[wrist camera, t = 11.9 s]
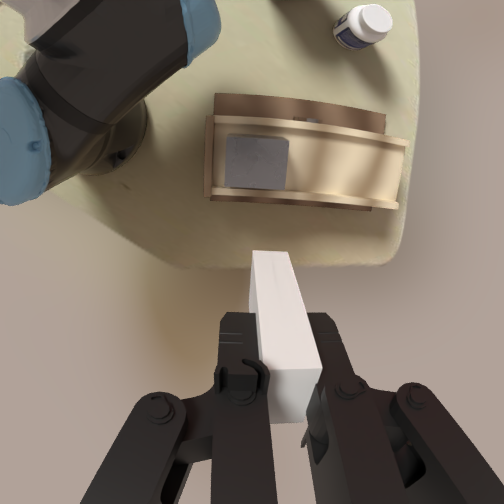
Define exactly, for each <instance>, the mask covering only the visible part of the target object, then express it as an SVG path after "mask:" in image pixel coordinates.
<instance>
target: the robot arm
mask: <svg viewBox="0 0 504 504" xmlns="http://www.w3.org/2000/svg"><path fill="white" fill-rule="evenodd" d="M0 2H2V3H3V4H5V5H7V6H8V7H10V8H11V9H13V10H15V11H16V12H18V13H19V14H21V15H22V16H23V19H24V40H25V42H26V43H27V44H29V45H30V46H32V47H34V48H35V49H36V51H35V52H34V53H33V54H32V55H31V57H30V58H29V59H28V60H27V62H26V63H25V64H24V65H23V67H22V68H21V69H20V71H19V72H18V73H17V75H16V76H15V77H3V78H1V79H0V204H5V205H8V206H14V205H19V204H22V203H24V202H26V201H28V200H33V199H36V198H38V197H39V196H40V195H41V194H42V193H43V192H45V191H47V190H49V189H51V188H52V187H54V186H56V185H58V184H60V183H62V182H63V181H65V180H67V179H69V178H71V177H73V176H75V175H77V174H85V175H101V174H105V173H108V172H111V171H113V170H115V169H116V168H118V167H120V166H122V165H123V164H125V163H126V162H127V161H128V160H129V159H130V158H131V157H132V156H133V155H134V154H135V152H136V151H137V149H138V148H139V146H140V144H141V142H142V140H143V137H144V134H145V129H146V122H147V114H146V107H145V103H144V100H143V99H144V98H145V97H146V96H147V95H148V94H150V93H151V92H152V91H153V90H154V89H156V88H157V87H158V86H159V85H160V84H162V83H163V82H164V81H165V80H167V79H168V78H169V77H171V76H172V75H173V74H174V73H176V72H177V71H178V70H180V69H181V68H187V67H188V66H189V65H190V64H191V62H192V60H193V59H195V58H196V57H197V56H199V55H200V54H201V53H203V52H204V51H205V50H207V49H208V48H209V47H211V46H212V45H213V44H214V43H215V42H216V41H217V39H218V37H219V34H220V32H221V19H220V14H219V11H218V8H217V5H216V3H215V0H0ZM305 415H306V416H307V421H308V428H307V430H306V433H305V435H304V437H303V439H302V441H301V448H302V447H305V445H306V443H307V449H308V455H309V461H310V467H311V472H312V479H313V485H314V491H315V497H316V504H504V485H503V484H502V482H501V481H500V480H499V478H498V477H497V475H496V474H495V473H494V471H493V470H492V468H491V467H490V466H489V464H488V463H487V462H486V460H485V459H484V458H483V456H482V455H481V454H480V452H479V451H478V450H477V448H476V447H475V446H474V444H473V443H472V442H471V440H470V439H469V438H468V437H467V435H466V434H465V433H464V431H463V430H462V429H461V428H460V426H459V425H458V424H457V423H456V421H455V420H454V419H453V417H452V416H451V415H450V414H449V412H448V411H447V410H446V409H445V407H444V406H443V405H442V404H441V402H440V401H439V400H438V399H437V398H436V396H435V395H434V394H433V393H432V391H431V390H429V389H428V388H427V387H426V386H424V385H421V384H420V383H413V382H411V383H406V384H404V385H402V386H401V387H400V388H399V389H398V391H397V392H390V391H382V390H377V389H373V388H370V387H369V386H368V384H367V383H366V381H365V380H363V379H362V378H361V377H360V376H357V375H355V373H354V371H353V368H352V366H351V363H350V360H349V358H348V355H347V352H346V350H345V347H344V344H343V343H342V339H341V337H340V334H339V333H338V329H337V327H336V324H335V322H334V321H333V320H332V319H331V318H330V317H329V316H328V315H327V314H326V313H306V310H305V306H304V303H303V300H302V296H301V294H300V290H299V287H298V283H297V281H296V277H295V274H294V271H293V268H292V264H291V261H290V258H289V255H288V252H280V251H257V250H253V253H252V266H251V280H250V293H249V313H239V312H227V313H226V314H225V315H224V317H223V318H222V320H221V321H220V332H219V348H218V363H217V366H216V369H215V372H214V385H213V387H212V388H211V389H210V390H209V391H207V392H206V393H204V394H202V395H200V396H196V397H193V398H187V399H182V400H180V399H179V398H178V397H176V396H174V395H172V394H170V393H165V392H154V393H149V394H147V395H145V396H143V397H142V398H141V399H140V400H139V401H138V402H137V403H136V405H135V406H134V408H133V410H132V411H131V413H130V415H129V417H128V418H127V420H126V422H125V423H124V425H123V427H122V429H121V430H120V432H119V434H118V436H117V438H116V439H115V441H114V443H113V445H112V446H111V448H110V450H109V452H108V453H107V455H106V457H105V459H104V461H103V462H102V464H101V466H100V468H99V469H98V471H97V473H96V475H95V477H94V479H93V480H92V482H91V484H90V486H89V488H88V489H87V491H86V493H85V495H84V497H83V499H82V500H81V502H80V504H178V502H179V499H180V496H181V494H182V491H183V489H184V486H185V483H186V481H187V478H188V476H189V473H190V470H191V468H192V465H193V463H194V462H199V461H203V460H208V459H212V470H211V471H212V472H211V504H278V501H277V491H276V481H275V471H274V460H273V450H272V440H271V431H270V424H276V423H277V424H278V423H298V422H303V420H304V418H305Z"/></svg>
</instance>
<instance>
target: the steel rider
mask: <svg viewBox="0 0 504 504" xmlns="http://www.w3.org/2000/svg"><path fill="white" fill-rule="evenodd" d="M288 152H289V140H287V139H286V138H284V137H280V136H268V135H254V134H235V133H229V134H228V135H227V139H226V159H225V181H224V187H241V188H259V189H275V190H285V183H286V173H287V162H288Z"/></svg>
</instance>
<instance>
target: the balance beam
mask: <svg viewBox="0 0 504 504" xmlns="http://www.w3.org/2000/svg"><path fill="white" fill-rule="evenodd" d="M318 120H319V119H312V118H307V122H302V121H294V120H284V119H273V118H260V117H244V116H219V115H208V116H206V131H205V158H204V197H211V195H232V196H252V197H269V198H284V199H297V200H310V201H322V202H333V203H344V204H354V205H363V206H372V207H381V208H389V209H398V207H399V203H398V202H396V197H397V192H398V187H399V182H400V177H401V171H402V165H403V159H404V153H405V146H406V147H409V146H410V141H408V140H405V139H401V138H396V137H392V136H387V135H383V134H378V133H373V132H368V131H362V130H357V129H351V128H345V127H339V126H332V125H326V124H318ZM229 133H235V134H254V135H268V136H280V137H284V138H286V139H287V140H289V152H288V162H287V173H286V183H285V190H275V189H259V188H241V187H224V181H225V159H226V139H227V135H228V134H229Z"/></svg>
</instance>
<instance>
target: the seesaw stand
mask: <svg viewBox="0 0 504 504" xmlns="http://www.w3.org/2000/svg"><path fill="white" fill-rule="evenodd" d="M213 115H219V116H244V117H260V118H273V119H284V120H294V121H302V122H307V118H312V119H319V120H318V124H326V125H332V126H339V127H345V128H351V129H357V130H362V131H368V132H373V133H378V134H383V135H384V127H385V118H386V115H385V114H381V113H376V112H372V111H367V110H363V109H358V108H352V107H347V106H342V105H336V104H330V103H323V102H317V101H310V100H302V99H294V98H284V97H274V96H262V95H248V94H225V93H215V97H214V114H213ZM210 201H234V202H255V203H273V204H289V205H303V206H317V207H329V208H341V209H352V210H362V211H371V208H372V206H363V205H354V204H344V203H333V202H322V201H310V200H297V199H284V198H269V197H252V196H232V195H211V197H210Z"/></svg>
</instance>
